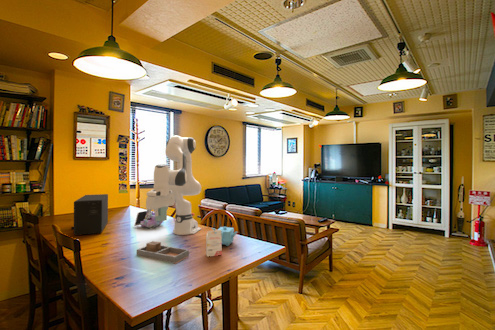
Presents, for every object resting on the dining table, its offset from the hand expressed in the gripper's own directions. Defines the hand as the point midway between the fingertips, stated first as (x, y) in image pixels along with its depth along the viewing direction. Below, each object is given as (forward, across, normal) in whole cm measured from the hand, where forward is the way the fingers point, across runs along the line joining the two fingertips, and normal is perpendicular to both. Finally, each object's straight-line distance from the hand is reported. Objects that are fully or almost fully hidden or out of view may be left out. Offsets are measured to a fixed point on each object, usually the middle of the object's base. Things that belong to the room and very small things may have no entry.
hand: (161, 215), depth 150 cm
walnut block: (+21, +5, -1) cm, 22 cm away
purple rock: (+21, -42, -49) cm, 68 cm away
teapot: (+22, -30, +26) cm, 45 cm away
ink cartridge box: (+22, -10, +31) cm, 39 cm away
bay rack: (+22, +4, +6) cm, 23 cm away
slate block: (+3, 0, 0) cm, 3 cm away
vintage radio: (+21, -15, -84) cm, 88 cm away
